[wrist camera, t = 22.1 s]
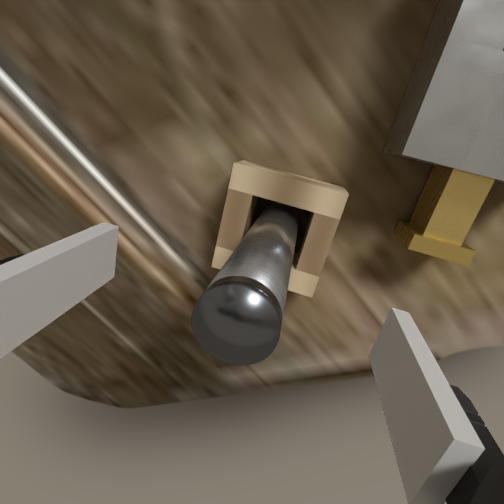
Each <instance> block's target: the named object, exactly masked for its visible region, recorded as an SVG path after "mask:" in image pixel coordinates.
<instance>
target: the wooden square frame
mask: <svg viewBox="0 0 504 504" xmlns="http://www.w3.org/2000/svg"><path fill="white" fill-rule="evenodd" d="M348 196H349V194H348V192H347V191H346V189H345V188H344V187H341V186H338V185H334V184H330V183H327V182H323V181H319V180H316V179H312V178H308V177H305V176H301V175H297V174H294V173H290V172H286V171H283V170H279V169H275V168H272V167H268V166H264V165H261V164H257V163H253V162H250V161H246V160H243V161H239V162H235V163H234V164H233V169H232V174H231V178H230V183H229V188H228V192H227V197H226V201H225V206H224V211H223V215H222V220H221V224H220V229H219V234H218V238H217V243H216V248H215V252H214V257H213V261H212V266H211V267H213V268H217V269H220V270H221V268H222V267H223V265H224V264H225V263H226V261H227V260H228V259H229V257H230V256H231V254H232V253H233V252H234V250H235V249H236V248H237V246H238V245H239V243H240V242H241V241H242V239H243V238H244V237H245V235H246V234H247V232H248V231H249V230H250V227H251V223H252V219H253V215H254V211H255V208H256V204H257V200H258V197H261V198H265V199H269V200H272V201H276V202H279V203H283V204H286V205H290V206H293V207H297V208H300V209H304V210H308V211H311V215H310V218H309V221H308V225H307V228H306V231H305V234H304V237H303V240H302V243H301V246H300V250H299V253H298V254H296V253H294V255H293V261H292V267H291V273H290V278H289V284H288V290H289V291H292V292H295V293H298V294H302V295H305V296H308V297H312V296H313V294H314V291H315V288H316V285H317V282H318V280H319V277H320V274H321V271H322V268H323V266H324V263H325V260H326V257H327V254H328V252H329V249H330V246H331V243H332V240H333V238H334V235H335V232H336V229H337V227H338V224H339V221H340V218H341V215H342V213H343V210H344V207H345V204H346V201H347V199H348Z"/></svg>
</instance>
